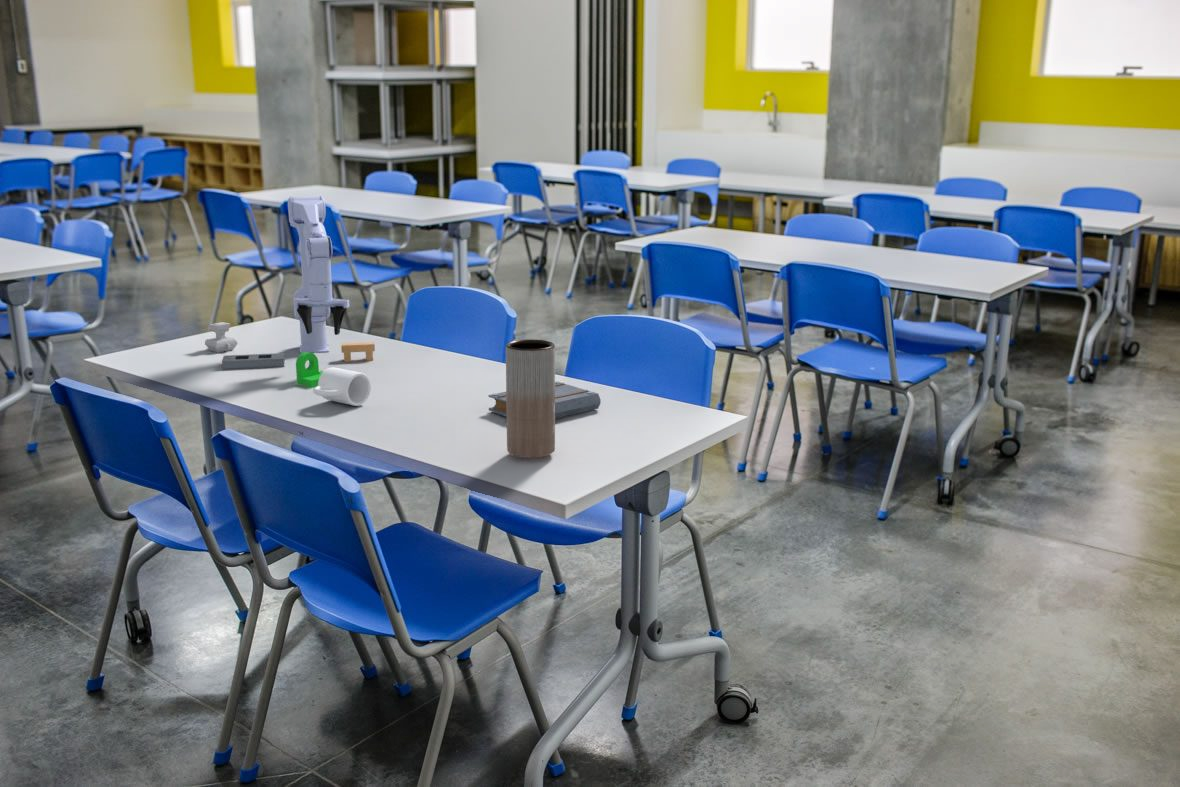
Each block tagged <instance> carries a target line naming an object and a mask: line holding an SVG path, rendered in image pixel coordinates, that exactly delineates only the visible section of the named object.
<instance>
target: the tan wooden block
mask: <svg viewBox="0 0 1180 787" xmlns="http://www.w3.org/2000/svg"><path fill="white" fill-rule="evenodd" d="M340 345H341V346H340V347H341V348H340V349H341V353H342V354H343V360H344V362H345V363H348V362H351V361H352V356H351V355H352V354H351V353H365V361H368V362H369V361H370V362H371V361H374V356H373V355H374V354H373V353H374V352H375V349H376V348H375V347H376V346H375V342H374V341H373V342H372V341H370V342H369V341H368V342H347V343H345V342H344V343H341V344H340Z"/></svg>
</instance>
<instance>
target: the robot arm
mask: <svg viewBox="0 0 1180 787" xmlns="http://www.w3.org/2000/svg"><path fill="white" fill-rule="evenodd" d="M325 201H326V200H325V198H324V197H323V196H322V195H320V196H300V197H299V196H298V197H297V196H295V197H293V196H289V198H288V199H287V210H288V222H289V223H290V227H293V228H295V229H296V232H297V233H298V237H299V238H298V240H299V241H298V242H299V249H300V250H299V253H300V254H299V255H300V267H301V278H302V279H301V282H302V285H301V287H299V288H298V289H296V291H295V292H294V294H293V313H294V318H295V319H296V320H298V322H299V332H300V345H299V354H301V353H303V352H308V353H312V354H314V353H316V354H317V353H329V352H330V351H329V344H328V343H327V341H328V340H327V328H326V327H327V322H326V321H327V319H329V317H330V316H331V314H332V317H333V318H332V319H333V327H334V328H333V333H334V335H335V336H337V335H340V333H341V327H342V322H343V319H344V318H345V317H344V316H345V314H346V311H347V309H348V308H349V307H350V299H343V298H334V297H333V285H332V284H333V283H332V282H333V281H332V266H331V265H332V261H331V259H333V245H332V244H333V242H332V240H331V237H330V236H329V235H327V232H326V227H325V226H324V222H325V218H326V215H327V214H326V212H327V211H326V210H327V209H326V202H325ZM331 308H332V309H331ZM331 312H332V313H331Z"/></svg>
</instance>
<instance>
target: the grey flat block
mask: <svg viewBox="0 0 1180 787" xmlns="http://www.w3.org/2000/svg"><path fill="white" fill-rule="evenodd" d="M285 360H286V358H285V352H282V353H281V352H280V353H278V352H277V353H258V354H255V353H254V354H233V355H232V354H230V355H227V354H226V355H223V357H222V360H221V366H222V367H221V368H222V370H223V371H224V370H225V371H227V370H228V371H229V370H245V369H248V370H249V369H264V368H265V369H266V368H279V367H280V368H283V367H285Z"/></svg>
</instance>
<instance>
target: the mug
mask: <svg viewBox="0 0 1180 787" xmlns="http://www.w3.org/2000/svg"><path fill="white" fill-rule="evenodd" d="M323 371H324V372H323V373H322V374H321V376H320V378H319V381H318V386H317V387H314V388H313V390H312V391H313V392H312V393H313V394H315V395H316V396H319V397H322V398H323V399H325V400H328V401H332V402H336V403H341V404H345V405H350V406H353V407H355V406H356V407H358V406H361V405H363V404H364V403H366V402H367V401H368V399H369V396H370V394H371V389H372V388H371V387H372V385H371V381H370V378H369V377H368V375H366V374H365V373H363V372H359V371H355V370H354V371H353V370H349V369H345V368H339V367H334V366H333V367H332V366H331V367H328V368H326V369H324V370H323Z"/></svg>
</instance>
